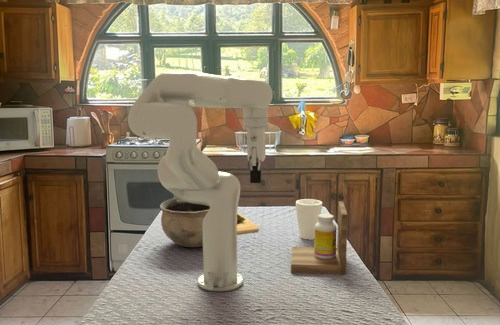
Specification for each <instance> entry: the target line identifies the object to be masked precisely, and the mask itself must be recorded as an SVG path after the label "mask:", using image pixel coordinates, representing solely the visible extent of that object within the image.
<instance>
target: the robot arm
mask: <svg viewBox="0 0 500 325" xmlns="http://www.w3.org/2000/svg"><path fill="white" fill-rule="evenodd" d="M272 100H273V89H272V87H271V86H270V84H269V83H268V82H266V81H263V80H258V79H250V78H241V77H240V78H239V77H233V76H225V75H219V74H212V73H211V74H210V73H205V72H199V71H189V70H188V71H187V70H186V71H184V70H183V71H165V72H161V73H159V74H158V75H157V76H155V77H154V79H153V80H152V81H151V82H150V83H149V84H148V86H146V88H145V89H144V90H143V91H142V93H141V94H140V95H139V97H138V98H137V99H136V100H135V101H134V102H133V104H132V106H131V107H130V109H129V112H128V116H127V122H128V127H129V129H130V131H131V132H132V133H133V134H134V135H136V136H138V137H141V138H149V139H161V140H162V139H163V140H169V144H168V147H167V150H166V152H165V154H164V155H163V156H162V157H161V159H160V160H159V163H158V164H157V176H158V180H159V182H160V184H161V185H162V187H164V188H165V189H166V190H167V191H169V192H170V193H171V194H173V195H174V196H176V198H180V199H182V200H183V201H185V202H188V203H194V204H201V205H207V206H210V209H209V211H208V212H207V214H206V215H205V217H204V219H203V223H202V230H203V246H202V267H203V268H202V269H203V270H202V271H203V272H202V273H203V274H202V275H200V276H198V279H197V284H198V287H199V288H201V289H203V290H205V291H209V292H227V291H232V290H236V289H238V288H239V287H241V286H242V285H243V283H244V282H243V281H244V278H243V276H242V275H241V274H239V273H238V234H237V212H238V207H239V200H240V195H241V183H240V180H239V178H238V177H237V176H235V175H234V174H232V173H229V172H225V171H219V169H218V167H217V165H216V164H215V163H214V161H213V160H211V159H210V157H208V156H207V155H206V154H205V153H204V152H203V151H202V150H201V149H200V148H199V147H198V145H197V135H198V134H197V130H198V118H197V115H196V113H195V112H194V110H193V108H191V107H197V108H211V109H233V108H238V109H242V110H243V112H242V115H243V116H242V118H243V120H242V121H243V122H242V123H243V128H242V129H245V130H246V151H247V152H246V153H247V154H246V155H247V156H246V157H247V161H248V162H250V170H249V172H250V173H249V175H250V176H249V180H250V184H261V182H262V169H261V168H262V167H261V164H262V162H264V161H265V159H266V156H267V155H266V152H267V151H266V129H268V128H269V105H270V104H271V102H272Z"/></svg>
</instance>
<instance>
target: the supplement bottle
mask: <svg viewBox="0 0 500 325" xmlns="http://www.w3.org/2000/svg"><path fill="white" fill-rule="evenodd" d="M334 217H335V216H334V215H333V214H331V213H321V214H320V215H318V220H319V222H318V223H317V224H316V225H315V239H313V240H314V243H313V244H314V246H313V247H314V255H315V256H316V257H317V258H321V259H332V258H334V257H335V256H336V248H337V231H338V228H337V225H336V224H335V223H334V222H333V221H334V220H335V219H334Z"/></svg>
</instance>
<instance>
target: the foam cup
mask: <svg viewBox="0 0 500 325" xmlns="http://www.w3.org/2000/svg"><path fill="white" fill-rule="evenodd" d="M322 210H323V201H321V200H318V199H313V198H304V199H301V198H300V199H298V200H296V201H295V211H296V218H297V226H298V234H299V238H300V239H302V238H303V239H302V240H306V239H309V241H311V240H312V241H313V240H315V225H316V224H317V223H318V222H319V220H318V215H320V214H322Z"/></svg>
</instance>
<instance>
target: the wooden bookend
mask: <svg viewBox="0 0 500 325" xmlns="http://www.w3.org/2000/svg"><path fill="white" fill-rule="evenodd" d="M345 206H346V205H345V203H344V201H341V200H340V201H338V202H337V234H336V256H335V257H334V258H332V259H321V258H317V257H316V256H315V255H314V246H312V247H311V246H309V247H308V246H292V247H291V259H290V272H291V273H304V274H326V275H327V274H333V275H346V274H347V273H346V271H347V240H348V212H347V208H346V207H345Z"/></svg>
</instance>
